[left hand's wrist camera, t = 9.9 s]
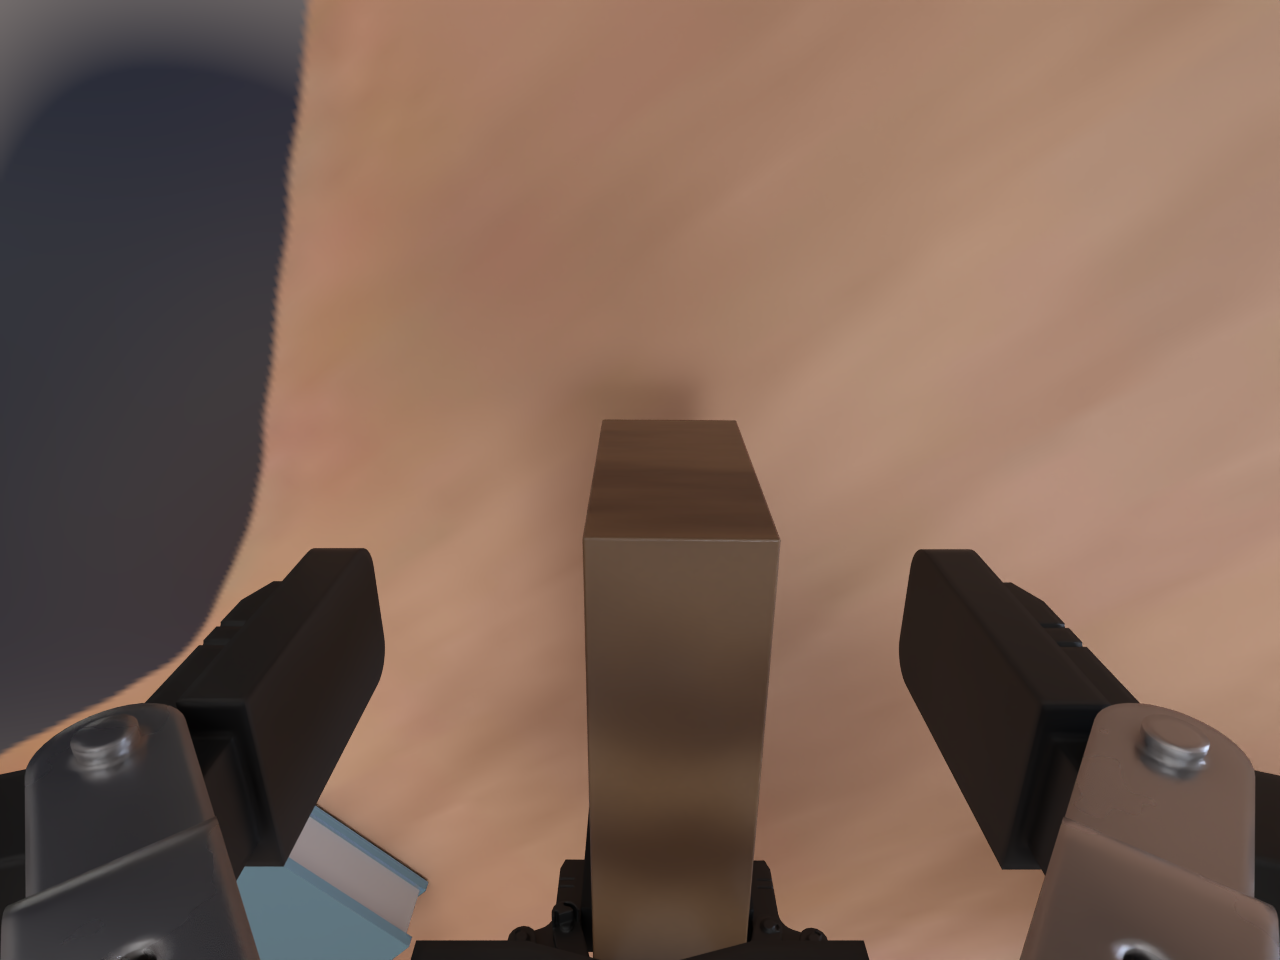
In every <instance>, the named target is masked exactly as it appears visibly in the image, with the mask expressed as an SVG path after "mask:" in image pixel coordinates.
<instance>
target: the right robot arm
mask: <svg viewBox="0 0 1280 960" xmlns="http://www.w3.org/2000/svg"><path fill="white" fill-rule="evenodd" d="M508 941H530V942H534V943H538V944H541V945H545V946H549V947H553V948H557V949H561V950H564V951H568V952H572V953H576V954H580V955H584V956H587V957H589V953H588V952H593V933H592V894H591V854H590V814H589V815H588V827H587V838H586V850H585V860H565V862H564V863H563V865H562V867H561V869H560V877H559V885H558V894H557V902H556V905H555V906H554V907H553V910H552V921H551V922H550V924H548V925H547V926H546V927H543V928H541V929H538V930H535V931H534V930H533V929H532V928H530V927H527V926H521V927H518V928H516V929H514V930H513V931H512V932H511V933H510V935H509V938H508ZM750 941H828V940H827V937H826V936H825V935H824V934H823V932H821V931H819V930H818V929H814V928H806V929H805V930H803V931H802V932H798V931H795V930H792V929H790V928H788V927H787V926H785V925H784V924H783V923H782V922H781V920H780V918H779V915H778V911H777V905H776V900H775V894H774V889H773V883H772V878H771V872H770V869H769V867H768V866H767V864H766V863H765V861H753V872H752V884H751V896H750V908H749V919H748V931H747V942H750Z"/></svg>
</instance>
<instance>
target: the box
mask: <svg viewBox="0 0 1280 960" xmlns="http://www.w3.org/2000/svg"><path fill="white" fill-rule="evenodd" d="M779 553H780V538H779V535H778V532H777V530H776V527H775V524H774V522H773V519H772V516H771V514H770V511H769V508H768V506H767V503H766V500H765V497H764V495H763V492H762V489H761V487H760V484H759V481H758V479H757V476H756V473H755V471H754V468H753V465H752V462H751V460H750V457H749V454H748V452H747V449H746V446H745V444H744V441H743V438H742V436H741V433H740V430H739V427H738V425H737V422H736V421H723V420H603V421H602V427H601V433H600V439H599V444H598V450H597V456H596V462H595V468H594V474H593V480H592V486H591V492H590V498H589V504H588V510H587V516H586V522H585V528H584V534H583V575H584V615H585V655H586V694H587V734H588V774H589V814H590V854H591V894H592V933H593V958H595V959H599V960H681V959H685V958H689V957H693V956H696V955H700V954H704V953H708V952H712V951H716V950H719V949H723V948H727V947H731V946H735V945H739V944H742V943H746V942H747V931H748V919H749V908H750V896H751V884H752V872H753V860H754V848H755V837H756V825H757V813H758V801H759V789H760V778H761V766H762V754H763V742H764V730H765V718H766V707H767V695H768V683H769V671H770V659H771V648H772V636H773V624H774V612H775V600H776V589H777V577H778V565H779Z"/></svg>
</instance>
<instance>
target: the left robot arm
mask: <svg viewBox="0 0 1280 960" xmlns="http://www.w3.org/2000/svg"><path fill="white" fill-rule="evenodd" d="M203 641H204V643H203V645H199V646H198V647H197V648H196V649H195V650H194V651H193V652H192V653H191V654H190V655H189V656H188V657H187V659H186V660H185V661H184V662H183V663H182V664H181V665H180V666H179V667H178V668H177V669H176V670H175V671H174V672H173V673H172V675H171V676H170V677H169V678H168V679H167V680H166V681H165V682H164V683H163V684H162V685H161V686H160V687H159V688H158V689H157V691H156V692H155V693H154V694H153V695H152V696H151V697H150V698H149V699H148V700H147V701H146V702H145V703H140V704H132V705H126V706H121V707H117V708H113V709H110V710H106V711H103V712H100V713H98V714H95V715H92V716H90V717H88V718H85V719H83V720H81V721H79V722H77V723H75V724H73V725H71V726H70V727H68V728H66V729H64V730H63V731H61V732H60V733H58V734H57V735H55V736H54V737H53V738H51V739H50V740H49V741H48V742H46V743H45V744H44V745H43V746H42V747H41V748H40V749H39V750H38V751H37V752H36V753H35V755H34V756H33V757H32V759H31V760H30V762H29V764H28V766H27V768H26V769H25V770H20V771H15V772H10V773H6V774H1V775H0V960H260V957H259V954H258V950H257V947H256V944H255V941H254V937H253V934H252V931H251V928H250V924H249V921H248V918H247V915H246V911H245V908H244V905H243V901H242V898H241V895H240V892H239V888H238V885H237V882H236V881H237V879H238V877H239V876H240V874H241V872H242V870H243V869H244V867H284V865H285V863H286V861H287V859H288V857H289V855H290V853H291V851H292V850H293V848H294V846H295V844H296V842H297V840H298V838H299V836H300V834H301V832H302V830H303V828H304V826H305V824H306V822H307V820H308V818H309V817H310V815H311V813H312V811H313V809H314V807H315V805H316V803H317V801H318V799H319V797H320V795H321V793H322V791H323V789H324V787H325V785H326V784H327V782H328V780H329V778H330V776H331V774H332V772H333V770H334V768H335V766H336V764H337V762H338V760H339V758H340V756H341V754H342V753H343V751H344V749H345V747H346V745H347V743H348V741H349V739H350V737H351V735H352V733H353V731H354V729H355V727H356V725H357V723H358V721H359V720H360V718H361V716H362V714H363V712H364V710H365V708H366V706H367V704H368V702H369V700H370V698H371V696H372V694H373V692H374V690H375V688H376V687H377V685H378V682H379V680H380V677H381V674H382V670H383V665H384V656H385V641H384V633H383V626H382V620H381V613H380V606H379V599H378V593H377V586H376V579H375V573H374V566H373V561H372V558H371V555H370V553H369V552H368V551H367V550H366V549H364V548H313V549H311V550H310V551H309V552H307V554H306V555H305V556H304V557H303V558H302V559H301V560H300V562H299V563H298V564H297V565H296V566H295V567H294V568H293V569H292V571H291V572H290V573H289V574H288V575H287V576H286V577H285V579H284V580H283V581H273V582H271V583H270V584H268V585H266V586H265V587H263V588H261V589H259V590H258V591H256V592H254V593H253V594H251V595H249V596H248V597H246V598H244V599H242V600H241V601H240V602H239V603H238V604H237V605H236V606H235V607H234V608H233V610H232V611H231V612H230V613H229V614H228V615H227V616H226V617H225V618H224V619H223V620H222V621H221V626H220V627H216V628H215V629H214V630H213V631H212V632H211V633H210V634H209V635H208V636H207V637H206V638H205V639H204V640H203ZM899 659H900V667H901V672H902V676H903V679H904V682H905V684H906V686H907V688H908V690H909V692H910V694H911V696H912V698H913V699H914V701H915V703H916V705H917V707H918V709H919V711H920V713H921V715H922V717H923V719H924V721H925V722H926V724H927V726H928V728H929V730H930V732H931V734H932V736H933V738H934V740H935V742H936V744H937V745H938V747H939V749H940V751H941V753H942V755H943V757H944V759H945V761H946V763H947V765H948V767H949V768H950V770H951V772H952V774H953V776H954V778H955V780H956V782H957V784H958V786H959V788H960V790H961V791H962V793H963V795H964V797H965V799H966V801H967V803H968V805H969V807H970V809H971V811H972V813H973V814H974V816H975V818H976V820H977V822H978V824H979V826H980V828H981V830H982V832H983V834H984V836H985V837H986V839H987V841H988V843H989V845H990V847H991V849H992V851H993V853H994V855H995V857H996V859H997V860H998V862H999V864H1000V866H1001V868H1002V869H1042V871H1043V873H1044V875H1045V879H1044V882H1043V885H1042V888H1041V892H1040V895H1039V898H1038V901H1037V905H1036V908H1035V911H1034V915H1033V918H1032V921H1031V924H1030V928H1029V931H1028V934H1027V937H1026V941H1025V944H1024V947H1023V950H1022V954H1021V957H1020V960H1280V776H1279V775H1274V774H1269V773H1264V772H1260V771H1256V770H1254V768H1253V766H1252V764H1251V762H1250V760H1249V759H1248V757H1247V756H1246V755H1245V753H1244V752H1243V751H1242V750H1241V749H1240V748H1239V747H1238V746H1237V745H1236V744H1235V743H1234V742H1232V741H1231V740H1230V739H1229V738H1227V737H1226V736H1225V735H1223V734H1222V733H1220V732H1219V731H1217V730H1216V729H1214V728H1212V727H1210V726H1209V725H1207V724H1205V723H1203V722H1201V721H1199V720H1197V719H1195V718H1192V717H1190V716H1188V715H1185V714H1182V713H1180V712H1177V711H1174V710H1170V709H1167V708H1163V707H1159V706H1154V705H1148V704H1140V703H1139V702H1138V701H1137V700H1136V699H1135V698H1134V696H1133V695H1132V694H1131V693H1130V692H1129V691H1128V690H1127V689H1126V688H1125V687H1124V686H1123V685H1122V684H1121V683H1120V682H1119V681H1118V680H1117V679H1116V677H1115V676H1114V675H1113V674H1112V673H1111V672H1110V671H1109V670H1108V669H1107V668H1106V667H1105V666H1104V665H1103V664H1102V663H1101V662H1100V661H1099V660H1098V658H1097V657H1096V656H1095V655H1094V654H1093V653H1092V652H1091V651H1090V650H1089V649H1088V648H1087V647H1083V646H1082V642H1081V640H1080V639H1079V638H1078V637H1077V636H1076V635H1075V634H1074V633H1073V632H1072V631H1071V630H1070V629H1069V628H1065V626H1064V623H1063V621H1062V620H1061V619H1060V618H1059V617H1058V616H1057V615H1056V614H1055V613H1054V612H1053V611H1052V610H1051V609H1050V608H1049V607H1048V606H1047V605H1046V604H1045V602H1044V601H1042V600H1040V599H1038V598H1037V597H1035V596H1033V595H1032V594H1030V593H1028V592H1026V591H1025V590H1023V589H1021V588H1020V587H1018V586H1016V585H1014V584H1013V583H1003V582H1002V581H1001V580H1000V579H999V578H998V577H997V576H996V574H995V573H994V572H993V571H992V570H991V569H990V568H989V567H988V565H987V564H986V563H985V562H984V561H983V560H982V559H981V558H980V556H979V555H978V554H977V553H976V552H975V551H973V550H969V549H920V550H918V551H917V552H916V553H915V555H914V557H913V559H912V563H911V568H910V574H909V581H908V587H907V594H906V601H905V607H904V614H903V621H902V627H901V634H900V641H899ZM411 960H599V959H595V958H591V957H587V956H584V955H580V954H576V953H572V952H568V951H564V950H561V949H557V948H553V947H549V946H545V945H541V944H538V943H534V942H530V941H416V944H415V947H414V950H413V954H412V957H411ZM681 960H869V957H868V954H867V950H866V947H865V944H864V941H750V942H746V943H742V944H739V945H735V946H731V947H727V948H723V949H719V950H716V951H712V952H708V953H704V954H700V955H696V956H693V957H689V958H685V959H681Z"/></svg>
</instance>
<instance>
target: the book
mask: <svg viewBox="0 0 1280 960" xmlns="http://www.w3.org/2000/svg"><path fill="white" fill-rule="evenodd" d="M236 882H237V885H238V888H239V892H240V895H241V898H242V901H243V905H244V908H245V911H246V915H247V918H248V921H249V924H250V928H251V931H252V934H253V937H254V941H255V944H256V947H257V950H258V954H259V957H260V960H392V959H394V958H395V957H396V956H397V955H399V954H400V953H401V952H403V951H404V950H405V949H407V948H408V947H409V945H410V942H411V938H412V937H411V936H410V935H408V934H407V930H408V926H409V923H410V920H411V917H412V913H413V910H414V907H415V904H416V901H417V897H418V896H420V895H421V894H422V893H423V892H425V891H426V888H427V885H428V882H427V881H426V880H424V879H423V878H421V877H420V876H418V875H417V874H415V873H414V872H413V871H411V870H410V869H408V868H407V867H405V866H404V865H402V864H401V863H399V862H398V861H396V860H395V859H393V858H392V857H390V856H389V855H387V854H386V853H384V852H383V851H382V850H380V849H379V848H377V847H376V846H374V845H373V844H371V843H370V842H368V841H367V840H365V839H364V838H362V837H361V836H359V835H358V834H356V833H355V832H354V831H352V830H351V829H349V828H348V827H346V826H345V825H343V824H342V823H340V822H339V821H337V820H336V819H334V818H333V817H331V816H330V815H328V814H327V813H326V812H324V811H323V810H321V809H320V808H318V807H317V806H315V807H314V809H313V811H312V813H311V815H310V817H309V818H308V820H307V822H306V824H305V826H304V828H303V830H302V832H301V834H300V836H299V838H298V840H297V842H296V844H295V846H294V848H293V850H292V851H291V853H290V855H289V857H288V859H287V861H286V863H285V865H284V867H244V869H243V870H242V872H241V874H240V876H239V877H238V879H237V881H236Z"/></svg>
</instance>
